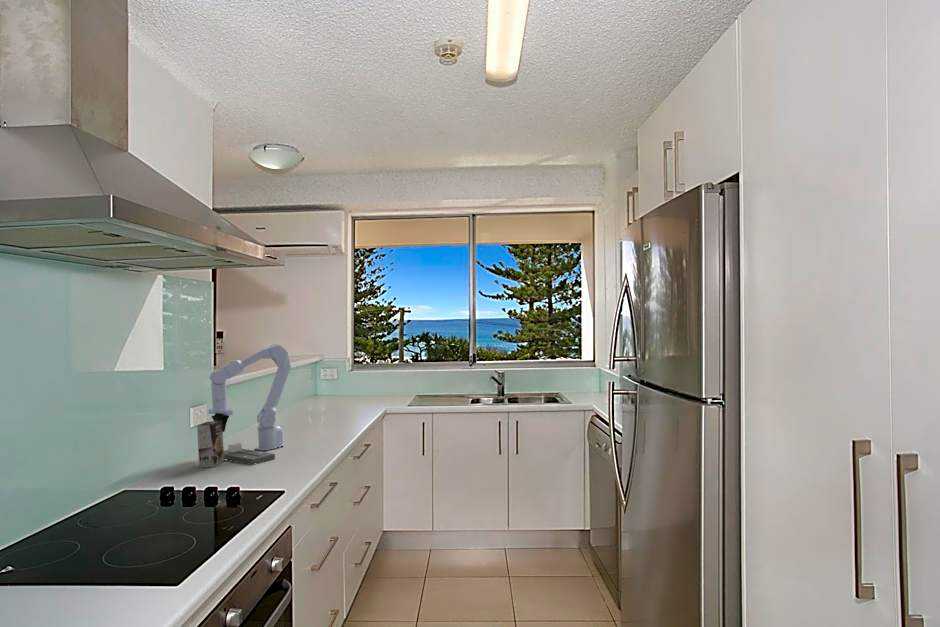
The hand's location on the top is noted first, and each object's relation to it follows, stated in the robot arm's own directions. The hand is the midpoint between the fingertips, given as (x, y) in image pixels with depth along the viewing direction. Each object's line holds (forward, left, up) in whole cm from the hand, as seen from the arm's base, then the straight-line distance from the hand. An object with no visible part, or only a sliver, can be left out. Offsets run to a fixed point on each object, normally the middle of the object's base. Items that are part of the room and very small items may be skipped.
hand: (221, 432), depth 266 cm
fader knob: (0, +9, -7) cm, 11 cm away
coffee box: (+12, +12, -10) cm, 19 cm away
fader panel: (0, +15, -9) cm, 18 cm away
